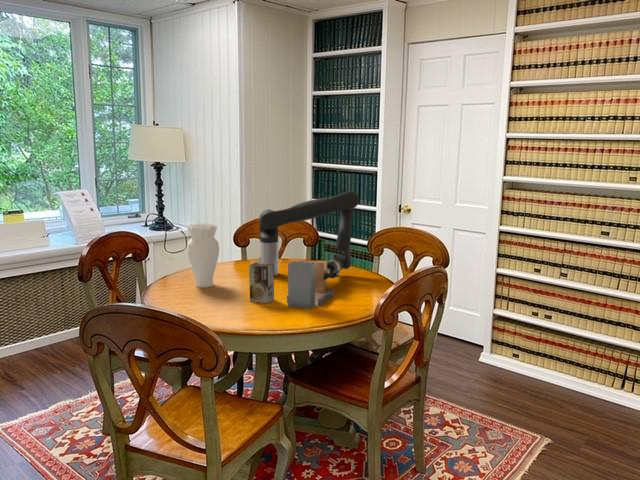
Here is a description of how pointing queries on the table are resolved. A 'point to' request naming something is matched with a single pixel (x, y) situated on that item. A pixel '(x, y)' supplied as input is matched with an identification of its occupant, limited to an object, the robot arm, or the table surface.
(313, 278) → the grey metal bracket
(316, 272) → the copper bar
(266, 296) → the coffee box
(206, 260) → the vase
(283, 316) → the table surface
